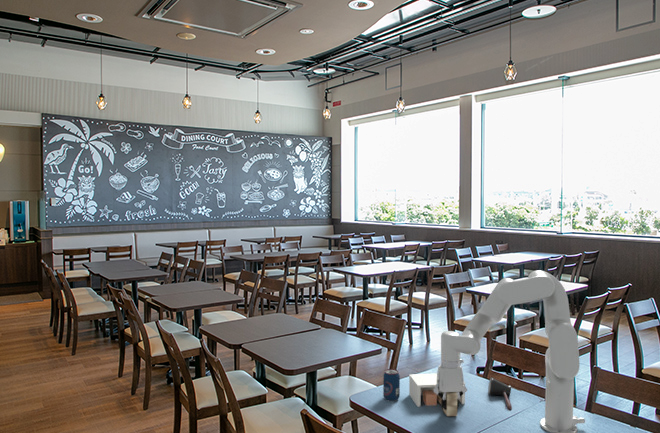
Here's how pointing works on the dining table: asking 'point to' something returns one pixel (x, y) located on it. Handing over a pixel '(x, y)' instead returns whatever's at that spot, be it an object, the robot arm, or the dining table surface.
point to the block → (429, 397)
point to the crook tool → (450, 403)
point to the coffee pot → (500, 390)
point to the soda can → (391, 385)
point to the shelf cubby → (424, 386)
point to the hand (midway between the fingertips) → (450, 407)
